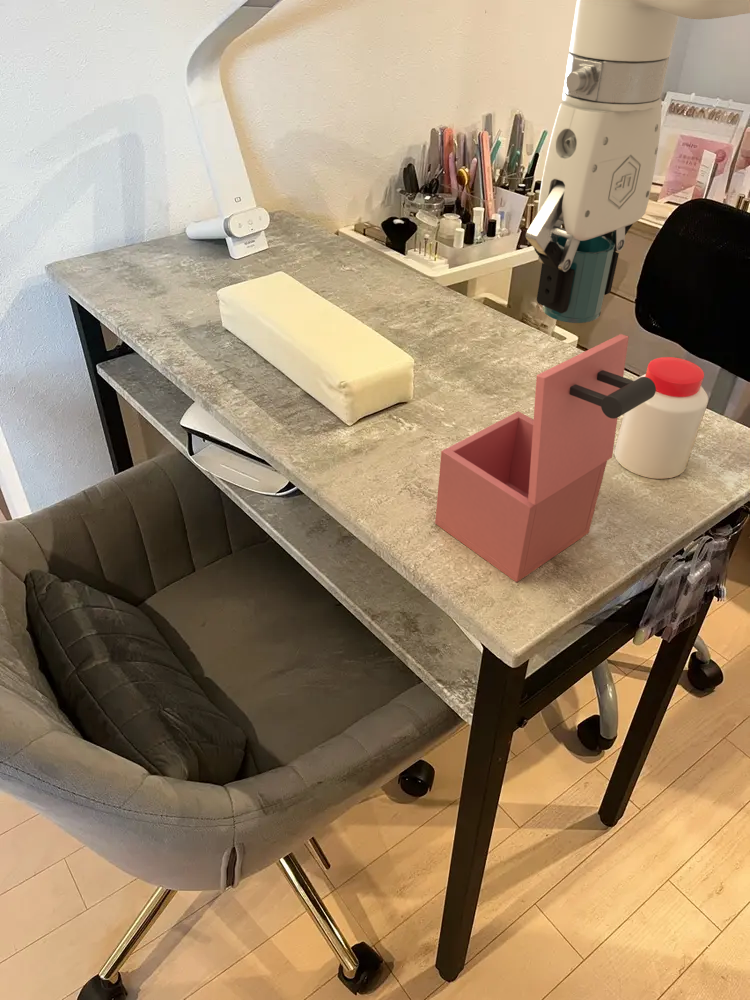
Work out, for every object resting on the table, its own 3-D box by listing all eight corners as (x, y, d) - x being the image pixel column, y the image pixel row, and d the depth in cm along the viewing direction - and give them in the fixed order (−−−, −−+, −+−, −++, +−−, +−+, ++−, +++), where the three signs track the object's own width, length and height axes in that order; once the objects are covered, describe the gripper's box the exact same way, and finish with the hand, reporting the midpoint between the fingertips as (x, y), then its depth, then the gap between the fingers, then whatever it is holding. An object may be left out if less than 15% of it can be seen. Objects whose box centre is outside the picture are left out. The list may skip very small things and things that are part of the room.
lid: (536, 374, 57) (599, 398, 54) (620, 333, 63) (683, 352, 59) (527, 501, 64) (583, 530, 60) (604, 454, 69) (660, 477, 65)
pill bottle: (600, 456, 85) (621, 368, 78) (638, 430, 89) (662, 344, 82) (662, 488, 80) (690, 398, 73) (700, 459, 84) (730, 371, 77)
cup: (603, 303, 74) (617, 236, 70) (596, 327, 70) (610, 257, 66) (547, 294, 75) (558, 228, 71) (537, 317, 71) (547, 248, 67)
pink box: (434, 523, 75) (441, 450, 70) (507, 481, 81) (518, 410, 75) (516, 582, 69) (530, 507, 64) (588, 533, 75) (607, 459, 69)
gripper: (582, 104, 54) (544, 339, 65) (716, 75, 62) (661, 288, 74) (503, 86, 58) (480, 309, 69) (638, 62, 67) (597, 264, 78)
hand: (573, 296), depth 71 cm, fingers closed on cup, 5 cm apart
